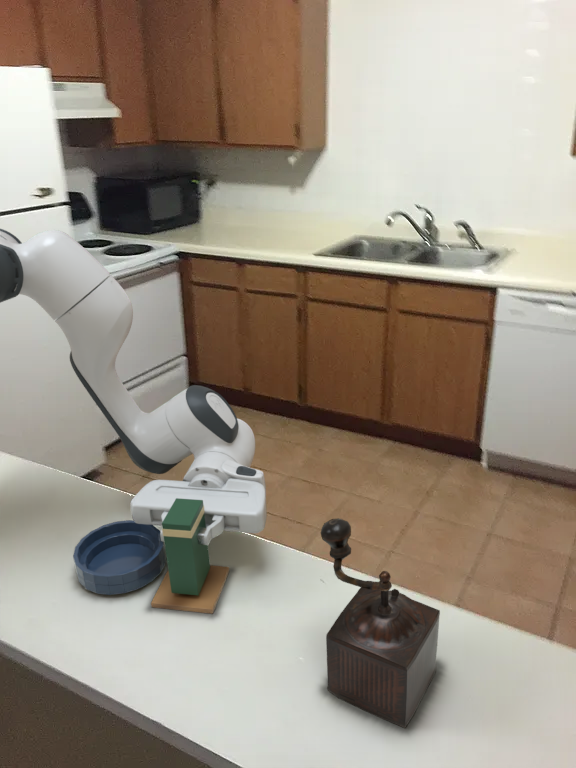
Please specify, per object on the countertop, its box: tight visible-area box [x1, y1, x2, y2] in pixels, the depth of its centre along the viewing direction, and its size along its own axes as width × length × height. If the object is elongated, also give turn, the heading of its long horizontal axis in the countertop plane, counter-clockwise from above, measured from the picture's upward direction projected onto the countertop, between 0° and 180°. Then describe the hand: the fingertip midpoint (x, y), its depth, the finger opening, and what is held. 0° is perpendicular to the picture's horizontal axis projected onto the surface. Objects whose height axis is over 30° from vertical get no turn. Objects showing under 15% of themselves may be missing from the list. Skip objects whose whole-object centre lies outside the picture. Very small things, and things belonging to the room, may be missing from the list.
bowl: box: [72, 519, 167, 596], centre depth 101 cm, size 13×13×4 cm
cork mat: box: [150, 564, 230, 615], centre depth 97 cm, size 9×9×1 cm
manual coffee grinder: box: [320, 517, 441, 729], centre depth 79 cm, size 16×11×18 cm
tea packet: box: [161, 498, 211, 595], centre depth 94 cm, size 4×6×12 cm
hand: (184, 539), depth 93 cm, fingers closed on tea packet, 4 cm apart
